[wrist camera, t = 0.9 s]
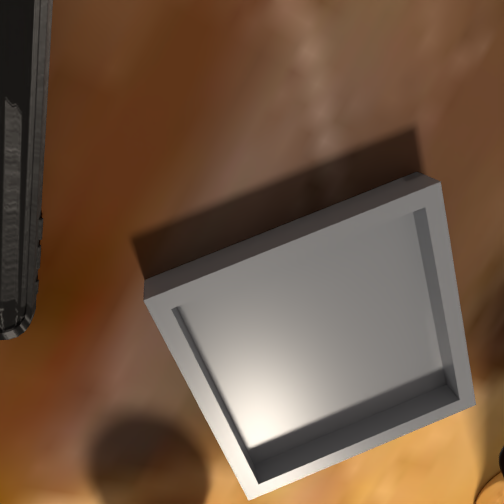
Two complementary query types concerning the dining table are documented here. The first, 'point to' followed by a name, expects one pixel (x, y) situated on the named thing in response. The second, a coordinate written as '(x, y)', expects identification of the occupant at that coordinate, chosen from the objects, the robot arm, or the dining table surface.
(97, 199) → the dining table surface
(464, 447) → the dining table surface
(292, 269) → the tray
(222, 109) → the dining table surface
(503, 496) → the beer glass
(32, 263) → the phone
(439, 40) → the dining table surface
